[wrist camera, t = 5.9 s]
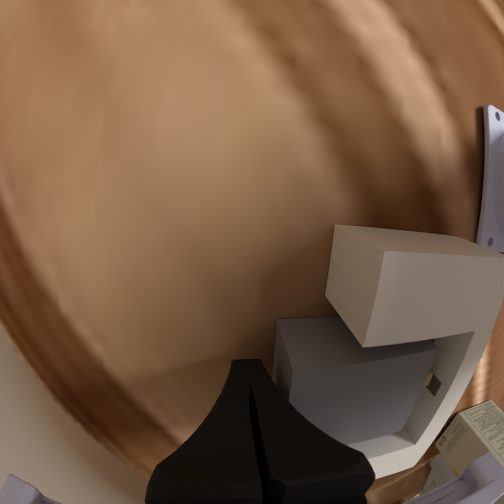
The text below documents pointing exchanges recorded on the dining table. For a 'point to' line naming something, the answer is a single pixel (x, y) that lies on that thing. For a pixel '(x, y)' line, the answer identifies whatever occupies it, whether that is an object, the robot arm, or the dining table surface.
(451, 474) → the light switch
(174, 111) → the dining table surface
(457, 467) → the skincare box
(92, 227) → the dining table surface
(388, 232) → the socket block
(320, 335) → the plug
